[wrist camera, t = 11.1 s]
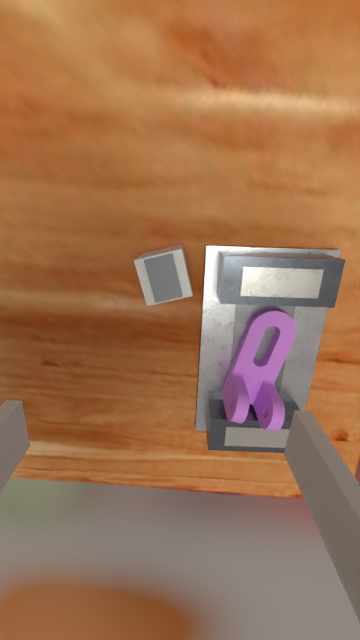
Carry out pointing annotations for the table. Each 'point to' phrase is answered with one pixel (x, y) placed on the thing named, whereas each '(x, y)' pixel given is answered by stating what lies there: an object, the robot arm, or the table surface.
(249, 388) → the bracket
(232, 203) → the table surface
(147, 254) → the block
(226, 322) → the rail board
